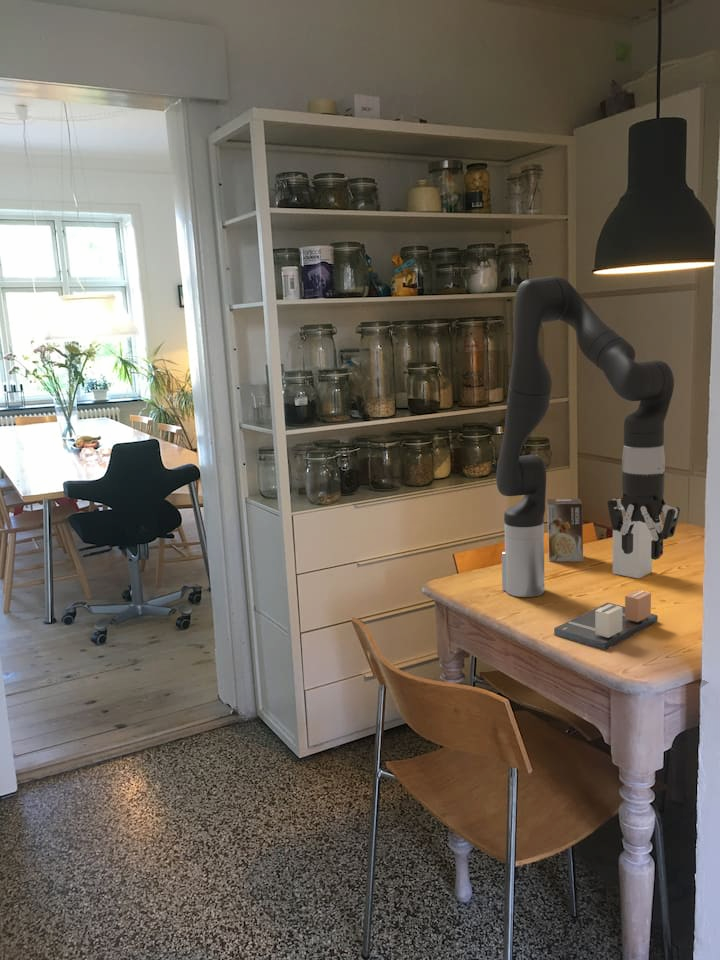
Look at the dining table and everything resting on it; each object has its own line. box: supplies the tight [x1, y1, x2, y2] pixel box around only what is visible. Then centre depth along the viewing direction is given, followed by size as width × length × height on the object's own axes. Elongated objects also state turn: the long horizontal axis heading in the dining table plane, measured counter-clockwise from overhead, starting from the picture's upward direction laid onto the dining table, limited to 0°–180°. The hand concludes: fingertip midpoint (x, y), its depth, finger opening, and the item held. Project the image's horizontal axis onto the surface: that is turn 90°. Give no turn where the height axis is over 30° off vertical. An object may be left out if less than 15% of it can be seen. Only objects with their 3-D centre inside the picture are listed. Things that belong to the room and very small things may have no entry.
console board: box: [553, 602, 659, 651], centre depth 168 cm, size 12×20×2 cm, turn 131°
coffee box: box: [546, 498, 584, 563], centre depth 215 cm, size 9×6×16 cm
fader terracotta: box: [624, 589, 652, 622], centre depth 168 cm, size 3×5×5 cm, turn 131°
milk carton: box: [612, 506, 653, 579], centre depth 200 cm, size 7×7×19 cm
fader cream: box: [595, 603, 622, 638], centre depth 161 cm, size 3×5×5 cm, turn 131°
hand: (642, 555), depth 153 cm, fingers open, 5 cm apart
